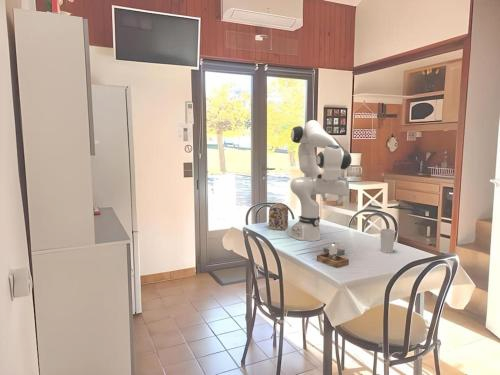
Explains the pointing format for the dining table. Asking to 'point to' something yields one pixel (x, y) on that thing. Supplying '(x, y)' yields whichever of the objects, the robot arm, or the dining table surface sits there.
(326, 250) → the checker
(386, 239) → the cup
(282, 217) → the decorative jar
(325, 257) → the brown wooden shallow tray
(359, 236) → the dining table surface
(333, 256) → the steel cell
